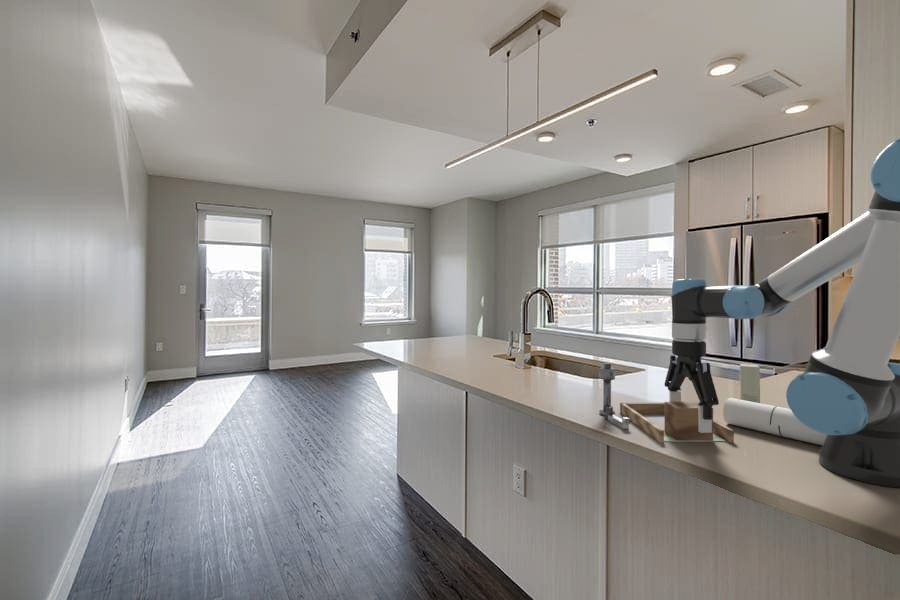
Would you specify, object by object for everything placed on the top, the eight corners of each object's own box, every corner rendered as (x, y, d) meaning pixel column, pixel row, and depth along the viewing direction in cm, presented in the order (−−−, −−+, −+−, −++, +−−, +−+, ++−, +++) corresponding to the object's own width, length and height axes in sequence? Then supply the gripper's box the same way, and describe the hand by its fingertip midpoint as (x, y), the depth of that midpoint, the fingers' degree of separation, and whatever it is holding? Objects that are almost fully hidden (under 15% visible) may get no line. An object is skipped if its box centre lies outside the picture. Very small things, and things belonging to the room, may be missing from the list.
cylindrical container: (725, 428, 117) (846, 457, 96) (721, 404, 115) (844, 429, 95) (736, 416, 121) (855, 442, 100) (733, 393, 119) (853, 415, 99)
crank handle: (631, 429, 114) (631, 416, 113) (624, 430, 113) (624, 416, 113) (610, 418, 124) (610, 405, 124) (604, 418, 123) (604, 406, 123)
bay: (733, 442, 104) (733, 430, 104) (659, 442, 104) (660, 430, 104) (679, 412, 129) (679, 402, 129) (620, 412, 129) (620, 402, 129)
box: (759, 404, 136) (759, 364, 136) (760, 408, 132) (760, 367, 132) (739, 402, 139) (739, 363, 139) (739, 405, 135) (740, 365, 135)
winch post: (617, 416, 125) (617, 364, 125) (602, 416, 125) (602, 364, 125) (611, 411, 130) (611, 361, 129) (597, 412, 130) (597, 362, 129)
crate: (713, 440, 105) (713, 408, 105) (676, 440, 105) (676, 408, 105) (699, 431, 111) (699, 401, 111) (664, 432, 111) (664, 401, 111)
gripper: (736, 345, 95) (736, 440, 95) (677, 334, 120) (678, 409, 120) (702, 346, 95) (703, 440, 95) (651, 335, 120) (651, 409, 120)
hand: (689, 423), depth 107 cm, fingers open, 13 cm apart
